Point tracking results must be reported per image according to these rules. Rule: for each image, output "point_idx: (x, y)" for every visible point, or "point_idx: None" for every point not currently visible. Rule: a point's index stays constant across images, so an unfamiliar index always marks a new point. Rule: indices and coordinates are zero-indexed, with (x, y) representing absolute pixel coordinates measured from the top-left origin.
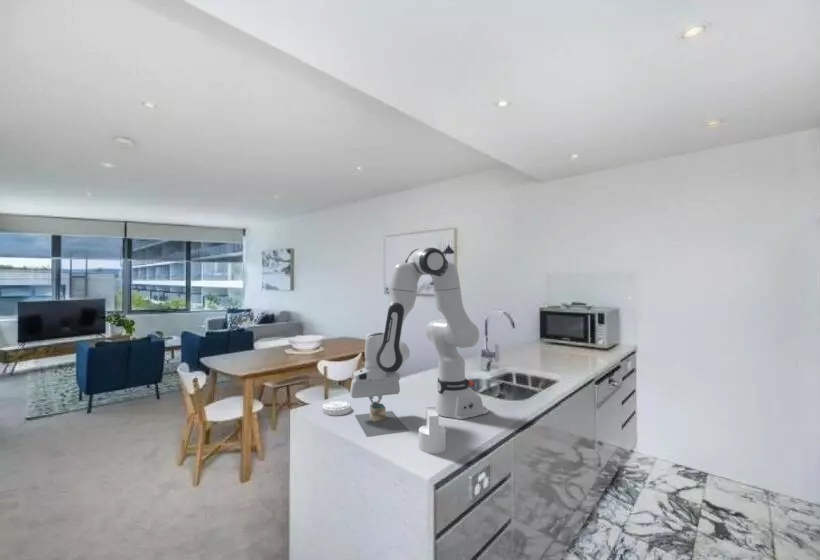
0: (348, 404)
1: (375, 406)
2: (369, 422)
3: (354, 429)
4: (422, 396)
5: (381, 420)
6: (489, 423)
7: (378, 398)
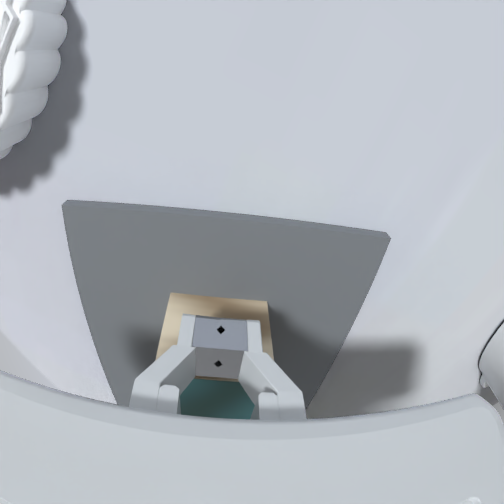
0: (6, 58)
1: (191, 407)
2: (150, 353)
3: (77, 359)
4: None
5: None
6: (486, 400)
7: (264, 385)
